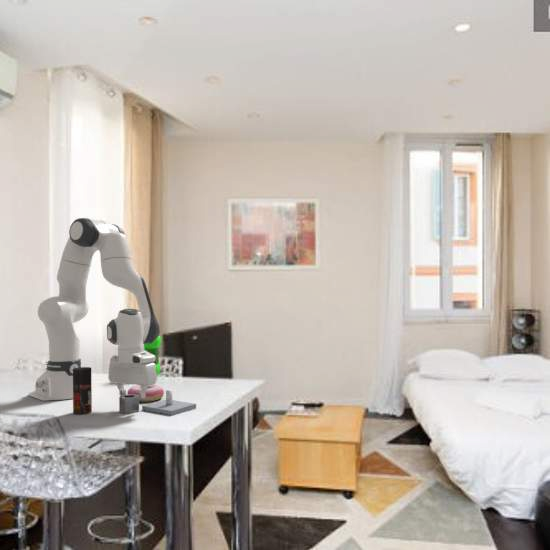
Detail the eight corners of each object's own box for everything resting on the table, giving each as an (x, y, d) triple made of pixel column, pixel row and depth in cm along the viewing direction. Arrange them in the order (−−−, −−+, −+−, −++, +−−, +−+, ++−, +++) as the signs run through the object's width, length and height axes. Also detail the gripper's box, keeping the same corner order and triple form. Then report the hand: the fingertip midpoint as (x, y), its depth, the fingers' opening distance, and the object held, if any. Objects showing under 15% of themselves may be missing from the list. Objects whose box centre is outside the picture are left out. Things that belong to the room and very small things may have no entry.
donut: (145, 405, 197) (145, 391, 197) (119, 401, 204) (119, 387, 204) (171, 398, 208) (170, 385, 209) (145, 394, 216) (145, 381, 216)
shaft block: (142, 410, 189) (141, 391, 189) (167, 403, 199) (166, 385, 199) (171, 415, 181) (171, 395, 181) (196, 408, 191) (195, 389, 191)
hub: (115, 411, 187) (115, 397, 187) (130, 407, 192) (130, 393, 193) (128, 414, 184) (128, 399, 184) (142, 410, 189) (142, 395, 189)
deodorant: (75, 410, 189) (75, 367, 189) (93, 410, 190) (93, 366, 190) (71, 415, 183) (70, 370, 183) (89, 414, 184) (88, 369, 184)
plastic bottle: (159, 379, 246) (158, 323, 247) (135, 379, 247) (135, 324, 247) (163, 375, 256) (163, 322, 257) (141, 375, 257) (140, 322, 257)
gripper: (103, 356, 191) (104, 395, 191) (145, 359, 181) (146, 401, 180) (117, 353, 197) (118, 392, 197) (159, 356, 186) (160, 397, 186)
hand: (132, 396), depth 188 cm, fingers open, 8 cm apart
